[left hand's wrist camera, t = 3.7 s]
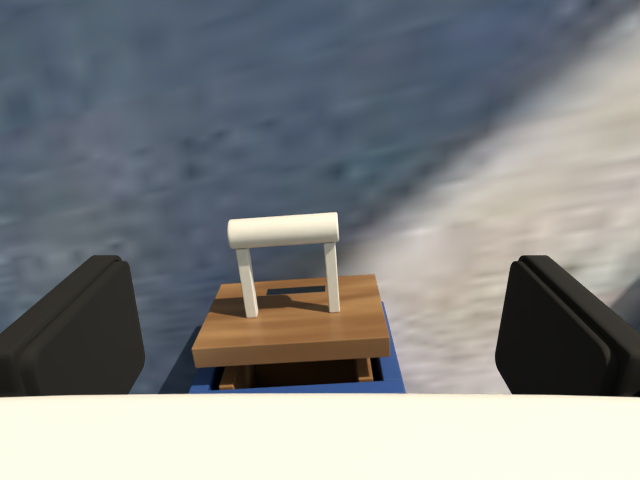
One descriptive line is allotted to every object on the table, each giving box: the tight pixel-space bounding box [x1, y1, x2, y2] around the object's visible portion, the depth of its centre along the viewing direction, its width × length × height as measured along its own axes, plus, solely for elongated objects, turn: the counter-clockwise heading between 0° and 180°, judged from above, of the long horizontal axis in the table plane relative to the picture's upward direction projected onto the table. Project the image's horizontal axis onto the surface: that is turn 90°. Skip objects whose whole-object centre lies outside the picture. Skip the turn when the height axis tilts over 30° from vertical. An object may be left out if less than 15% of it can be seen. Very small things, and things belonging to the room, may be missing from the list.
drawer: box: [191, 212, 390, 390], centre depth 27 cm, size 21×10×7 cm, turn 4°
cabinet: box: [188, 302, 406, 394], centre depth 29 cm, size 17×11×9 cm
